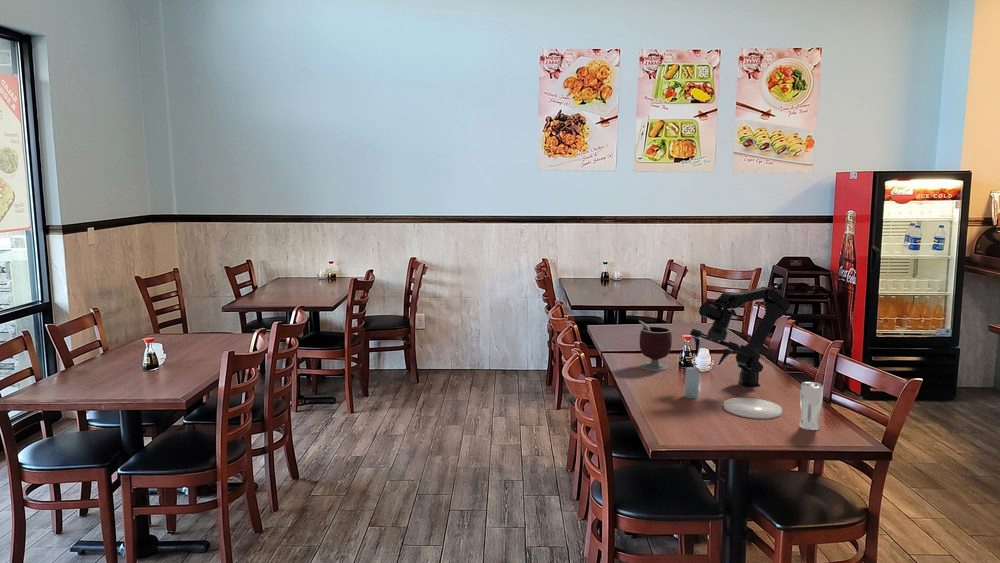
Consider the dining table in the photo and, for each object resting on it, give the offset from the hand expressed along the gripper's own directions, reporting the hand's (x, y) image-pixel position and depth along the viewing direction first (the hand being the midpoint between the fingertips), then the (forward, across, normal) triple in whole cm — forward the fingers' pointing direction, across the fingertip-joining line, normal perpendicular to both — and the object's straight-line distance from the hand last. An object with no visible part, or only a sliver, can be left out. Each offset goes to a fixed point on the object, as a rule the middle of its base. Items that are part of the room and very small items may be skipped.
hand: (707, 360), depth 275 cm
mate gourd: (+11, -25, +27) cm, 38 cm away
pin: (+15, 0, -8) cm, 17 cm away
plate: (+11, +22, -13) cm, 28 cm away
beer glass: (+9, +42, -24) cm, 49 cm away
